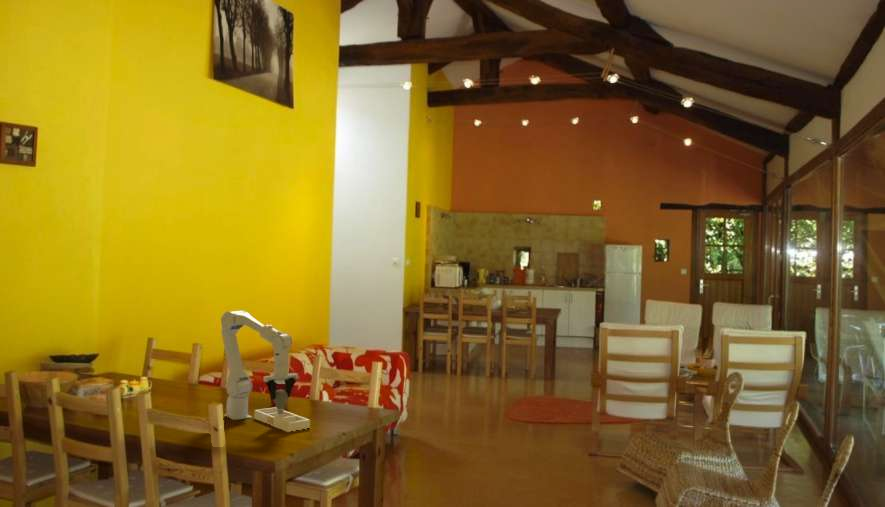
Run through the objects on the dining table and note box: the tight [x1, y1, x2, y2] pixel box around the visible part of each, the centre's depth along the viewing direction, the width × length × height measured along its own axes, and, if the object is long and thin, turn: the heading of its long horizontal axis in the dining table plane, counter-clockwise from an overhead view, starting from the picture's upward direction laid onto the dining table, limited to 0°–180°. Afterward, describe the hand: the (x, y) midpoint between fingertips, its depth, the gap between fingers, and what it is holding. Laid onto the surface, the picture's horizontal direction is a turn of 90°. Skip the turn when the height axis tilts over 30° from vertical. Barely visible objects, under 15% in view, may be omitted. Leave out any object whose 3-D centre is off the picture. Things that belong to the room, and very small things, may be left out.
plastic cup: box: [268, 378, 286, 408], centre depth 327 cm, size 11×11×12 cm
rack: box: [253, 407, 311, 433], centre depth 295 cm, size 27×10×4 cm, turn 42°
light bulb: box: [273, 389, 289, 415], centre depth 294 cm, size 6×6×10 cm
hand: (280, 397), depth 294 cm, fingers closed on light bulb, 6 cm apart
